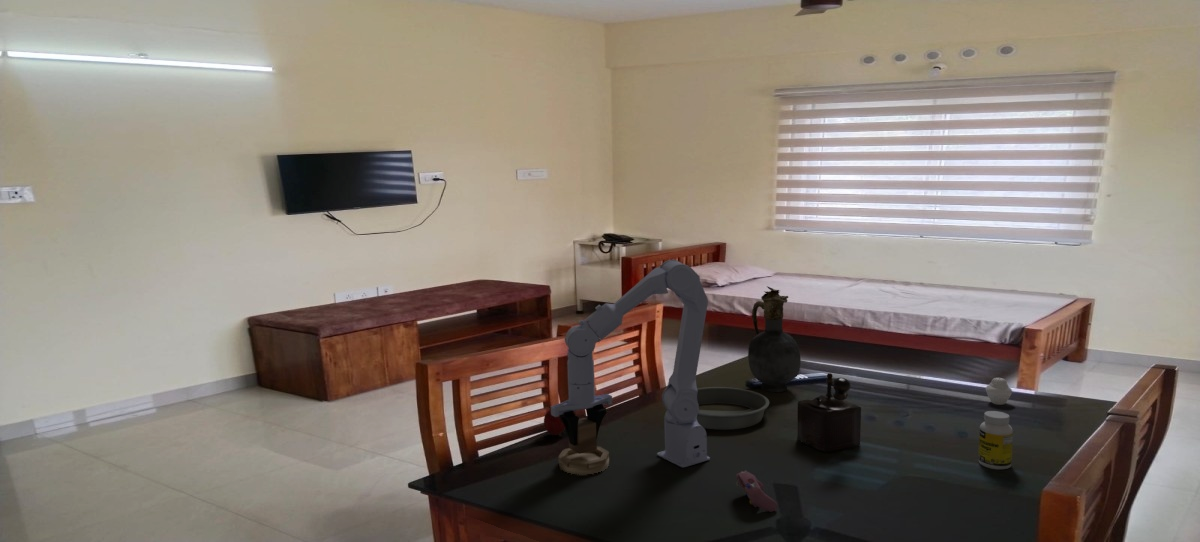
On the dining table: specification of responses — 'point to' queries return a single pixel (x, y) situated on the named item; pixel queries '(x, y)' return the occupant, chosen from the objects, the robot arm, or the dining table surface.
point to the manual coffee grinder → (830, 419)
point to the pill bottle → (995, 441)
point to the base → (584, 461)
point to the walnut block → (585, 436)
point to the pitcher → (773, 346)
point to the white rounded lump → (998, 391)
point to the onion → (553, 423)
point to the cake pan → (730, 418)
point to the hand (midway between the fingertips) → (583, 441)
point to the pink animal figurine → (755, 491)
